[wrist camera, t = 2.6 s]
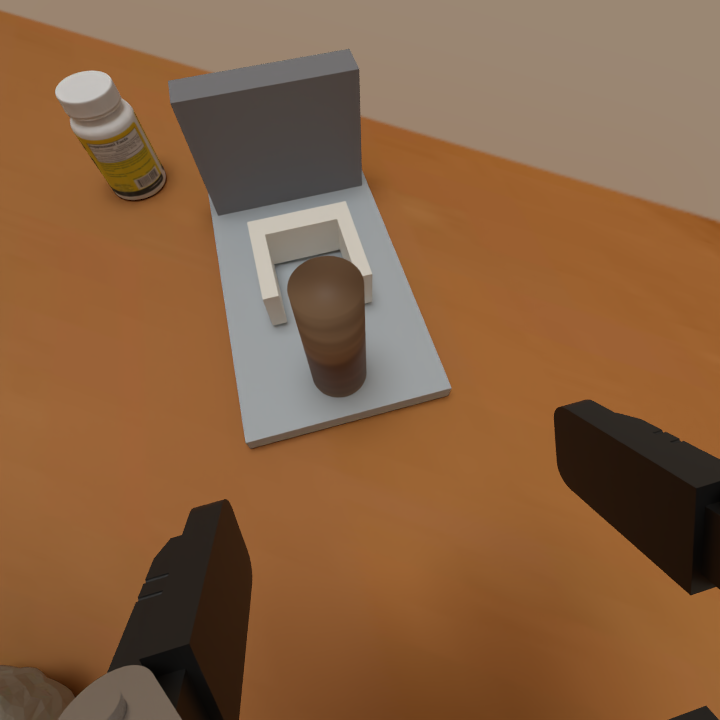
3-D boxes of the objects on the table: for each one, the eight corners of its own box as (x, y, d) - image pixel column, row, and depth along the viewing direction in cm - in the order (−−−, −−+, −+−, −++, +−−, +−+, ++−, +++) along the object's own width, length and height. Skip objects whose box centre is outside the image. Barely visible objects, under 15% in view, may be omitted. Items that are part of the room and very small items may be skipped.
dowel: (361, 401, 26) (356, 322, 18) (306, 393, 26) (278, 312, 18) (370, 352, 28) (369, 260, 20) (318, 345, 28) (297, 252, 20)
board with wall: (448, 395, 27) (486, 304, 18) (250, 448, 26) (186, 379, 17) (359, 175, 37) (355, 45, 28) (213, 205, 36) (159, 80, 27)
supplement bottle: (119, 167, 39) (59, 68, 31) (170, 163, 39) (122, 64, 31) (108, 204, 36) (40, 107, 29) (163, 200, 36) (109, 103, 29)
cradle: (372, 301, 29) (372, 273, 26) (272, 325, 28) (262, 299, 26) (347, 232, 32) (345, 200, 29) (257, 252, 31) (246, 222, 29)
